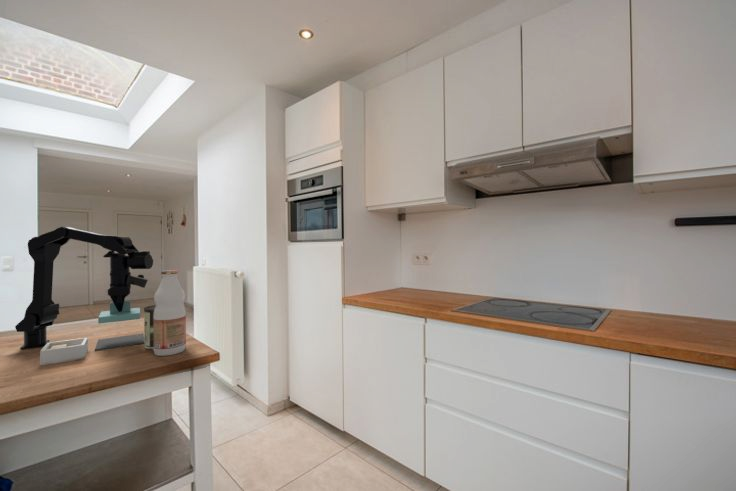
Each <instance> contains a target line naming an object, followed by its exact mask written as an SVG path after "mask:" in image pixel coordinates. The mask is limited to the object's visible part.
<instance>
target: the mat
mask: <svg viewBox="0 0 736 491" xmlns="http://www.w3.org/2000/svg"><path fill="white" fill-rule="evenodd" d="M143 344H144V332H143V333H135V334H128V335H122V336H114V337H108V338H102V339H101V338H99V339H98V340H97V342H96V345H95V347H94V352H99V351H106V350H112V349H118V348H125V347H131V346H137V345H143Z"/></svg>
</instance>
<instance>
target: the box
mask: <svg viewBox="0 0 736 491" xmlns="http://www.w3.org/2000/svg"><path fill="white" fill-rule="evenodd" d="M88 351H89V338H88V337H80V338H73V339H72V338H71V339H67V340H59V341H52V342H51V341H50V342H49V343H47V344H46V345H45V346H42V348H41V349H40V350H39V355H40V356H39V359H40V360H39V362H40V363H39V365H40V366H46V365H47V366H49V365H53V364H59V363H65V362H71V361H76V360H77V361H78V360H84V359H85V358H86V355H87V354H88Z"/></svg>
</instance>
